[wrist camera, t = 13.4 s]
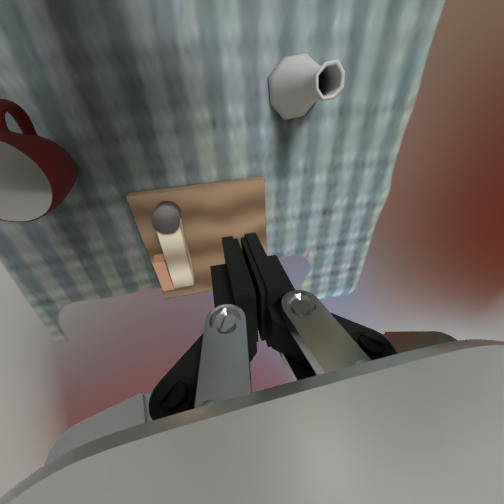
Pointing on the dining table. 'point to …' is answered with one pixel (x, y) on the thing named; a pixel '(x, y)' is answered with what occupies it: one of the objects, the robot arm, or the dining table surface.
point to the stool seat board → (204, 222)
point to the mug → (30, 170)
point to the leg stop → (162, 272)
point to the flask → (303, 84)
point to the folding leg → (173, 243)
